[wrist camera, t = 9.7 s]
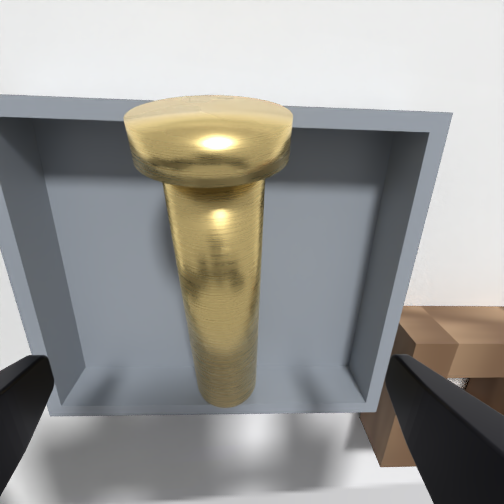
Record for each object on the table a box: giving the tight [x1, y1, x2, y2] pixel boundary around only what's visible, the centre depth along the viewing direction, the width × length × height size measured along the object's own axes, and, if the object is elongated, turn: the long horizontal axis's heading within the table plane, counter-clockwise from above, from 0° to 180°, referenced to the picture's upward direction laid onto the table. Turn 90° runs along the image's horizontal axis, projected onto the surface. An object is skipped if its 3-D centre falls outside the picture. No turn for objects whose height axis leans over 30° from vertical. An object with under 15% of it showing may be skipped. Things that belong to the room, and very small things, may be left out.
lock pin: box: [123, 95, 293, 408], centre depth 11 cm, size 4×4×12 cm
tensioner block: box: [360, 306, 504, 467], centre depth 16 cm, size 8×8×3 cm
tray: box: [0, 94, 453, 416], centre depth 13 cm, size 15×13×3 cm
